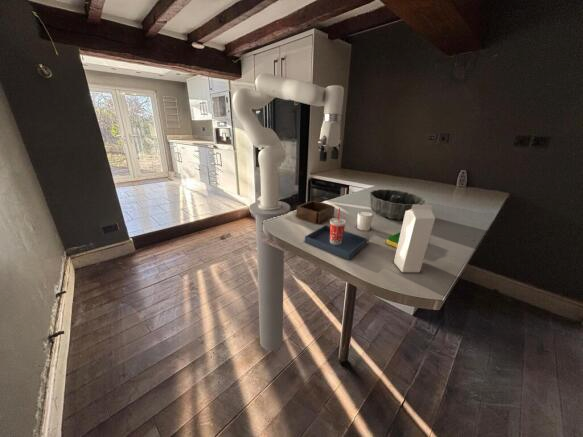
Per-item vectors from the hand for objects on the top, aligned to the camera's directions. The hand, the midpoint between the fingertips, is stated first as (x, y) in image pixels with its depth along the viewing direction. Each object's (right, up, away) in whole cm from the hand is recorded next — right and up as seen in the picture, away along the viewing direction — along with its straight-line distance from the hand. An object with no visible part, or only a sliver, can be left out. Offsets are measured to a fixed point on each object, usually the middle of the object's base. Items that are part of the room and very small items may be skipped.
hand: (328, 160), depth 105 cm
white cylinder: (+16, -31, +1) cm, 35 cm away
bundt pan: (+37, -24, +18) cm, 48 cm away
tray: (+1, -36, -14) cm, 39 cm away
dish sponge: (+28, -36, -11) cm, 48 cm away
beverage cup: (0, -36, -14) cm, 39 cm away
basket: (-5, -26, +12) cm, 29 cm away
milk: (+21, -43, -28) cm, 55 cm away
